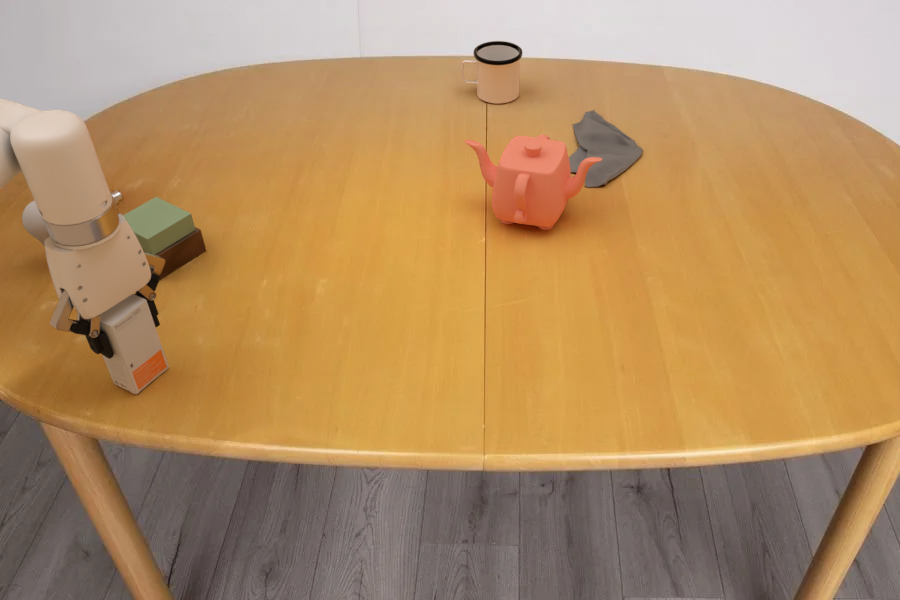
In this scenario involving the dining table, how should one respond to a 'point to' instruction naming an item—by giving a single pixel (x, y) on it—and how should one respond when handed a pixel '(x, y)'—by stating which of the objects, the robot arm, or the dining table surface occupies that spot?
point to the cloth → (602, 149)
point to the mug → (496, 71)
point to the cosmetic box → (133, 344)
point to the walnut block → (182, 252)
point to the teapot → (531, 180)
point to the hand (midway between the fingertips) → (127, 336)
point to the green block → (159, 224)
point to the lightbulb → (34, 222)
